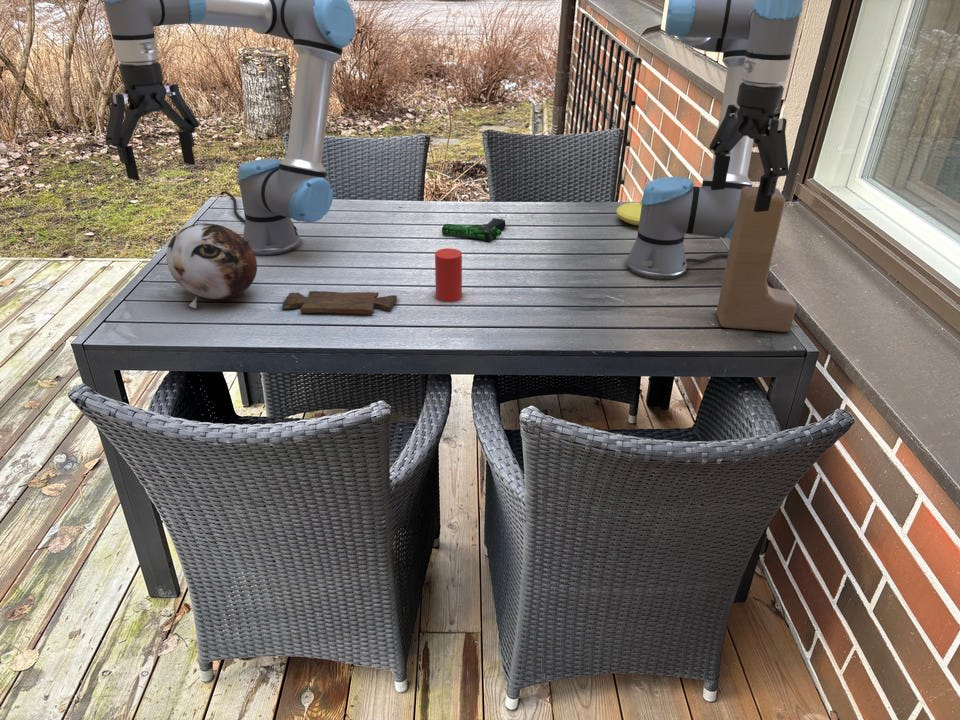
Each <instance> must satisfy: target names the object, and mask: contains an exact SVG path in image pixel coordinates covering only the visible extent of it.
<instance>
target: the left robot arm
mask: <svg viewBox="0 0 960 720" xmlns="http://www.w3.org/2000/svg"><path fill="white" fill-rule="evenodd" d="M102 2H103V5H104V9H105V14H106V17H107V21H108V25H109V29H110V34H111V37H112V43H113V48H114V52H115V58H116V60H117V61H118V62H119V65H118V70H119V73H120V77H121V82H122V84H123V86H124V92H122V93H121V92H120V93H118V92H113V91H112V92H110V95H109V96H110V103H111V106H110V107H111V108H110V112H109V118H108V123H107V130H106V134H105V140H104V142H105V144H106V145H108V146H113V147H116V149H117V153H118V157H119V162H120V163H121V164H123V165H124V167H125V173H126V175H127V179H131V180H134V181H138V180H139V181H140V175H139V171H138V166H137V162H136V158H135V154H134V149H133V146H130V145H129V144H130V141H131V139H132V136H133V134H134V132H135V129H136V127H137V125H138V122H139V120H140V118H142V117H143V115H144V114H146V115H148V114H151V113H152V112H160V111H161V113H163V114H164V115H165V116H166V117H167V118H168V119H169V120H170V121H171V122H172V123H173V124H174V125H176V126H177V128H179V129H180V130H181V131H178V132H177V134H178V139H179V144H180V149H181V154H182V160H183V163H184V164H187V165H192V166H193V165H196V161H195V156H194V150H193V148H194V147H195V141H194V137H193V136H194V135H193V133H195V132H196V128H199V127H200V122H199V121H198V119H197V118H196V116H195V115H194V113H193V112H192V110H191V108H190V107H189V105H188V104H187V103H186V101H185V99H184V98H183V96H182V94H181V90H180V88H179V85H178V84H176V83H170V82H167V83H165V85H164V83H163V82H164V75H163V70H162V65H161V63H160V62H159V61H158V60H159V59H160V55H159V51H158V46H157V41H156V35H155V30H154V27H160V26H161V27H162V26H172V25H173V26H175V25H185V24H186V25H201V26H202V25H204V26H213V27H214V26H217V27H228V28H239V29H251V30H252V32H254V33H256V34H258V35H259V34H260V35H268V36H273V37H276V38H277V37H278V38H282V39H285V40H290V41H292V48H293V49H294V51H295V52H296V53H297V63H296V73H295V81H294V88H293V89H294V90H293V97H292V107H291V115H290V124H289V132H288V142H287V150H286V156H285V157H284V158H283V159H280V158H263V159H261V158H260V159H255V160H252V161H251V160H250V161H247V162H244V163H242V164H241V165H239V167H238V168H237V177H238V179H237V182H238V184H239V190H240V196H241V201H242V208H243V212H244V213H243V215H244V218H243V217H242V216H241V215H240V214H239V213H238V209H237V208H238V207H237V199H236V197H235V196H234V195H232V194H231V193H230V192H228V191H225V190H222V191H221V192H220V193H219V195H220V196H223V195H224V194H225V195H227V196H228V197H229V198H231V199H232V198H233V199H232V201H233V202H232V203H233V212H234V215H235V216H236V218H237V219H238V220H240V221H241V222H242V223H244V226H243V228H244V229H243V235H242V237H243V238H244V239H245V240H246V241H249V242H248V244H249V245H250V247H251V248H252V250H253V252H254V254H255V256H256V255H257V256H275V255H281V254H282V255H283V254H285V253H289V252H291V251H293V250H296V249H297V248H298V247H299V246H300V244H301V241H300V235H299V233H298V232H299V231H298V228H297V226H296V225H294V223H293V220H294V221H296V222H303V223H315V222H318V221H320V220H321V219H323V217H324V216H326V215H327V214H328V212H329V211H330V209H331V207H332V204H333V200H334V190H333V188H332V185H331V183H330V182H329V181H328V180H327V169H326V168H325V166H324V165H323V163H322V161H323V154H324V147H325V140H326V139H325V138H326V132H327V131H326V130H327V122H328V115H329V106H330V99H331V91H332V83H333V77H334V76H333V75H334V70H335V69H334V68H335V63H337V62H338V61H339V60H340V59H342V56H343V48H346V47H347V46H349V45H350V44H351V42H353V40H354V38H355V34H356V29H357V28H356V27H357V24H356V16H355V13H354V10H353V8H351V4H350V2H349V1H348V0H102ZM166 96H168V97H169V99H170V101H171V102H172V104H173V105H174V107H175V108H176V110H177V111H178V112H177V111H176V110H175V109H174V108H173V106H172V105H171V104H170V103H169V102H168V101H167V100H166ZM127 104H128V105H127ZM126 105H127V109H126ZM125 110H126V111H125ZM125 112H126V114H125ZM124 116H125V117H124Z"/></svg>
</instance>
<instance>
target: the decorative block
mask: <svg viewBox="0 0 960 720" xmlns="http://www.w3.org/2000/svg"><path fill="white" fill-rule="evenodd" d="M758 189H759V186H752V187H748V186H745V187H743V188H742V189H741V194H740V199H739V204H738V209H737V214H736V219H735V224H734V228H733V233H732V238H730V242H729V249H728V253H727V254H728V257H726V263H725V268H724V273H723V277H722V283H721V287H720V292H719V297H718V302H717V307H716V316H717V318H718V321H719V325H720V327H721V328H727V329H740V330H754V331H767V332H780V333H789V332H791V330H792V325H793V322H794V318H795V315H796V311H797V303H796V301H795V300H794V298H793V296H792V295H791V293H790V292H789V291H788V290H783V289H778V288H774V287H771V286H769V285H768V276H769V272H770V266H771V262H772V259H773V254H774V250H775V247H776V242H777V238H778V234H779V230H780V225H781V221H782V217H783V212H784V208H785V205H786V198H785V196H784V195H783V193H782V192H781V191H780V189H779V188H777V187H776V188H775V193H774V194H773V195H772V198H771V202H770V206H769V211H762V212H755V211H754V207H755V203H756V198H757V194H758Z"/></svg>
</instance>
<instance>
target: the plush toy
mask: <svg viewBox="0 0 960 720" xmlns="http://www.w3.org/2000/svg"><path fill="white" fill-rule="evenodd" d="M248 242H249V241H246V240H245V239H244V238H243V236H242V235H240V234H239V233H238V232H236V231H234V230H233V229H231V228H229V227H226V226H223V225H220V224H215V223H205V222H204V223H195V224H191V225H188V226H186V227H183V228H182V229H180V230H179V231H177V232H176V233H175V234H174V235H173V237H171V239H170V241H169V243H168V245H167V248H166V254H165V260H166V265H167V268H168V271H169V273H170V275H171V276H172V277H173V279H174V280H175V281H176V282H177V284H178V285H180V286H181V287H182V288H183V289H185V290H186V291H187V292H189V293H191V294H194V295H195V298H194V299H193V300H192V302H190V303H189V304H188V306H189V307H191V308H192V309H197V308H198V307H197V298H198V297H201V298H205V299H210V300H226V299H230V298H233V297H236V296H238V295H241V294H242V293H244V292H245V291H247V290H248V289H249V288H250V286H251V285H252V284H253V282H254V280H255V278H256V275H257V271H258V262H257V257H256V254H254V252H253V250H252V248H251V247H250V245H249V244H248Z"/></svg>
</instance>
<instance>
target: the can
mask: <svg viewBox="0 0 960 720" xmlns="http://www.w3.org/2000/svg"><path fill="white" fill-rule="evenodd" d="M434 272H435V274H434V275H435V280H434V281H435V299H437V300H438V301H440V302H444V303H453V302H457V301H459V300H461V299H462V298H463V253H462V251H461V250H459V249H457V248H449V247H446V248H440V249H438V250H436V251H435V252H434Z"/></svg>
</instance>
